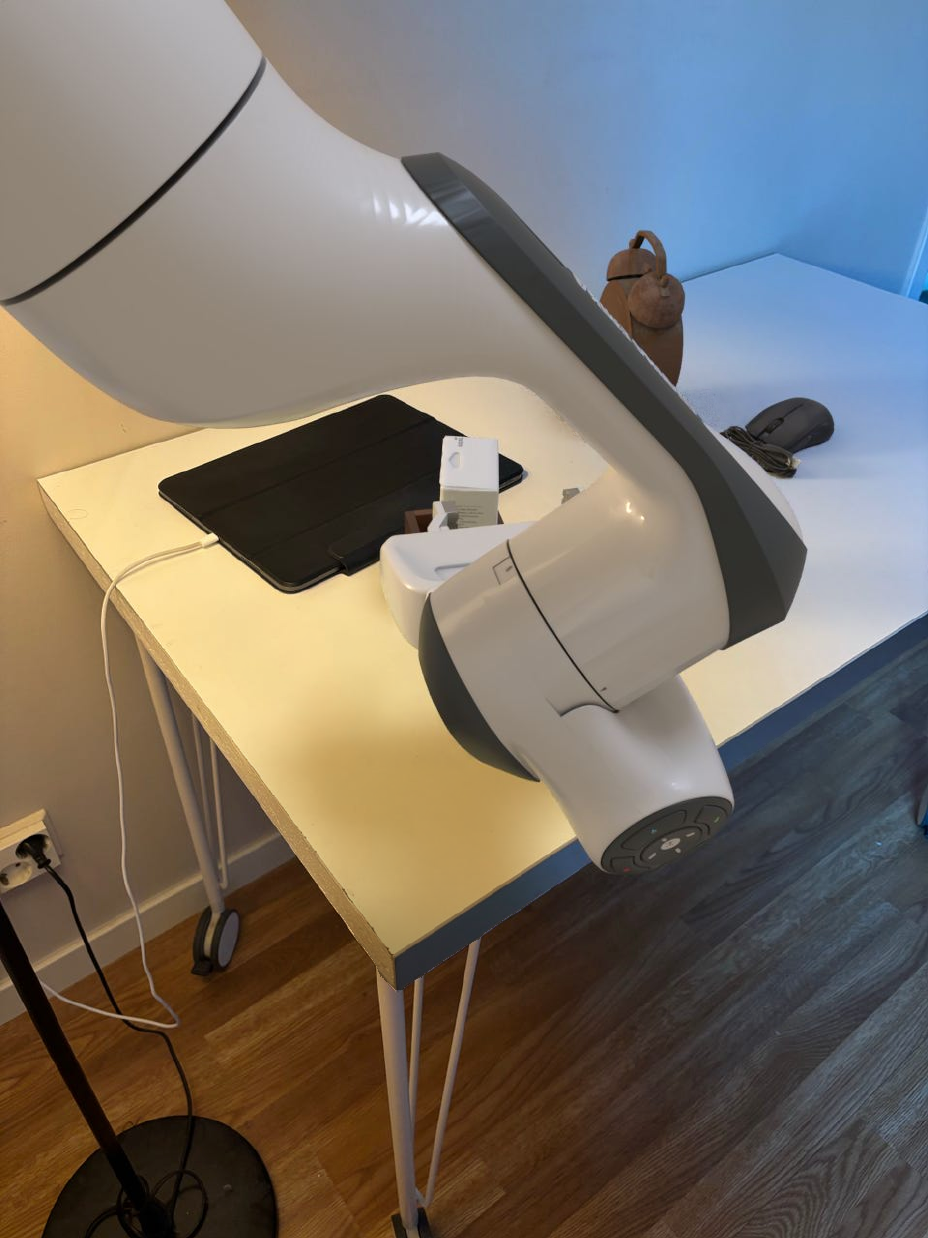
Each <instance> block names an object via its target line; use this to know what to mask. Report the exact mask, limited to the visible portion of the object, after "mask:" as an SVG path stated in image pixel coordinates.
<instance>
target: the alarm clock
mask: <svg viewBox="0 0 928 1238" xmlns="http://www.w3.org/2000/svg"><path fill="white" fill-rule="evenodd" d="M645 240H646V241H647V242H648V243H649V244H650V246H651V248H652V250H653V252H654V253H653V252H652V251H651V250H648V249H647V248H642V245H643V243H644V241H645ZM667 263H668V262H667V253H666V250H665V247H664V245H663V243H662V241H661V240H660V238H659V237H658V236H657V235H656V234H655V233H654V232H653V231H651V230H647V229H643V230H638V231H637V232H636V233H635V237H634V238H631V239H630V240H629V242H628V248H626V249H623V250H620V251H618V252H616V253H615V254H614V255H613V256H612V257H611V258H610V260H609V262H608V264H607V269H606V275H605V276H606V277H605V281H606V282H607V284H606V285H605V286H604V288H603V290H602V292H601V294H600V299H599V302H600V303H601V304H602V305H603V307H604V308H606V310H607V311H608V313H609V314H610V315H611V316H612V317H613V318H614V319H615V320H616V321H617V323H619V324H620V325H621V326H622V328H623V329H624V330H625V331H626V332H627V334H628V335H629V337H630V338H631V339H633V340H634V341H635V342H636V344H637V345H638V346H639V348H640V349H642V350H643V351H644V352H645V354H646V355H647V356H648V358H649V359H650V360H652V362H653V363H654V365H656V366H657V367H658V369H659V370H660V372H661V373H663V374H664V375H665V376H666V377H667V378H668V380H669V381H670V383H671V384H672V385H674V386H675V387H677V385H678V382H679V380H680V375H681V371H682V365H683V358H684V324H683V313H684V310H685V302H686V292H685V290H684V286H683V284H682V283H681V282H680V280H679V279H678V278H677V277H675V276H674V275H672V274H671V273H668V268H667V267H668V266H667V265H668V264H667Z"/></svg>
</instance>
